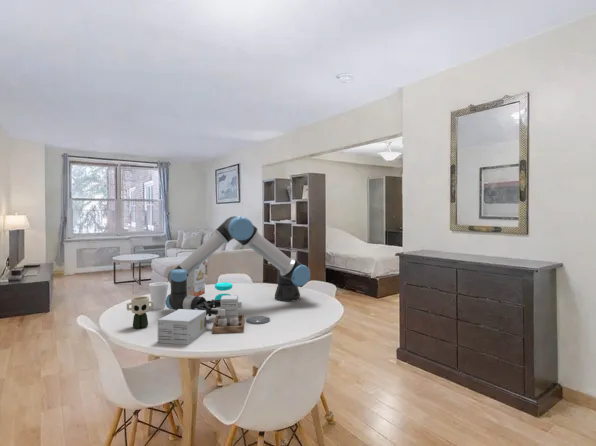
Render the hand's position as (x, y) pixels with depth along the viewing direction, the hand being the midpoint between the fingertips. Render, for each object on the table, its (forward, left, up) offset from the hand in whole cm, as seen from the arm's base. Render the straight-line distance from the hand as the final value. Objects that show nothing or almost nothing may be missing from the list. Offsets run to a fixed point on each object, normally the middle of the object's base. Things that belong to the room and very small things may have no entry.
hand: (233, 308), depth 163 cm
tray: (+2, +2, -7) cm, 8 cm away
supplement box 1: (+20, +12, -8) cm, 25 cm away
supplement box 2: (+2, -1, -8) cm, 8 cm away
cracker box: (+26, -62, -8) cm, 68 cm away
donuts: (+8, -46, -8) cm, 48 cm away
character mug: (+41, -2, -8) cm, 42 cm away
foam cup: (+41, -34, -8) cm, 54 cm away
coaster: (-11, -5, -7) cm, 15 cm away
